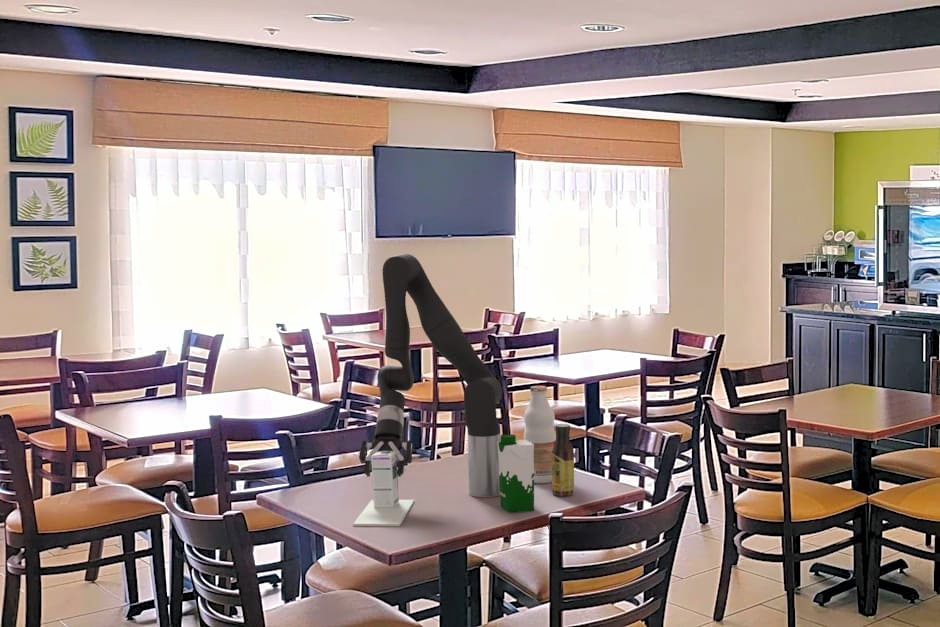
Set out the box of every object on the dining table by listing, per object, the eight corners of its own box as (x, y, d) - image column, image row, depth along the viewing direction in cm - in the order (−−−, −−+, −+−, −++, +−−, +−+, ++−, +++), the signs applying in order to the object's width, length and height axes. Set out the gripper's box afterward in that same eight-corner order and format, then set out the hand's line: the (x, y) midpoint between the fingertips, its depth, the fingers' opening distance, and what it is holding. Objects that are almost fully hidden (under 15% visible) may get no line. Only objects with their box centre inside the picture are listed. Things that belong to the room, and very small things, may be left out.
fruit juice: (518, 480, 314) (516, 387, 312) (539, 474, 320) (537, 383, 318) (541, 485, 307) (539, 390, 305) (563, 479, 314) (561, 386, 311)
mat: (414, 501, 292) (414, 499, 292) (399, 526, 269) (399, 524, 269) (371, 501, 294) (371, 499, 294) (353, 526, 270) (353, 523, 270)
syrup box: (394, 508, 284) (392, 455, 283) (372, 507, 285) (370, 454, 284) (399, 502, 290) (397, 450, 289) (378, 502, 291) (376, 450, 290)
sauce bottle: (549, 492, 299) (547, 423, 297) (570, 491, 300) (569, 421, 298) (555, 498, 292) (554, 427, 291) (577, 496, 294) (576, 426, 292)
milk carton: (496, 506, 285) (494, 433, 284) (527, 503, 288) (526, 430, 286) (506, 514, 277) (504, 439, 275) (539, 511, 280) (537, 436, 278)
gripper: (362, 417, 294) (355, 467, 283) (413, 417, 292) (407, 467, 282) (366, 432, 299) (359, 482, 289) (416, 432, 298) (411, 482, 287)
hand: (383, 475), depth 285 cm, fingers open, 8 cm apart
